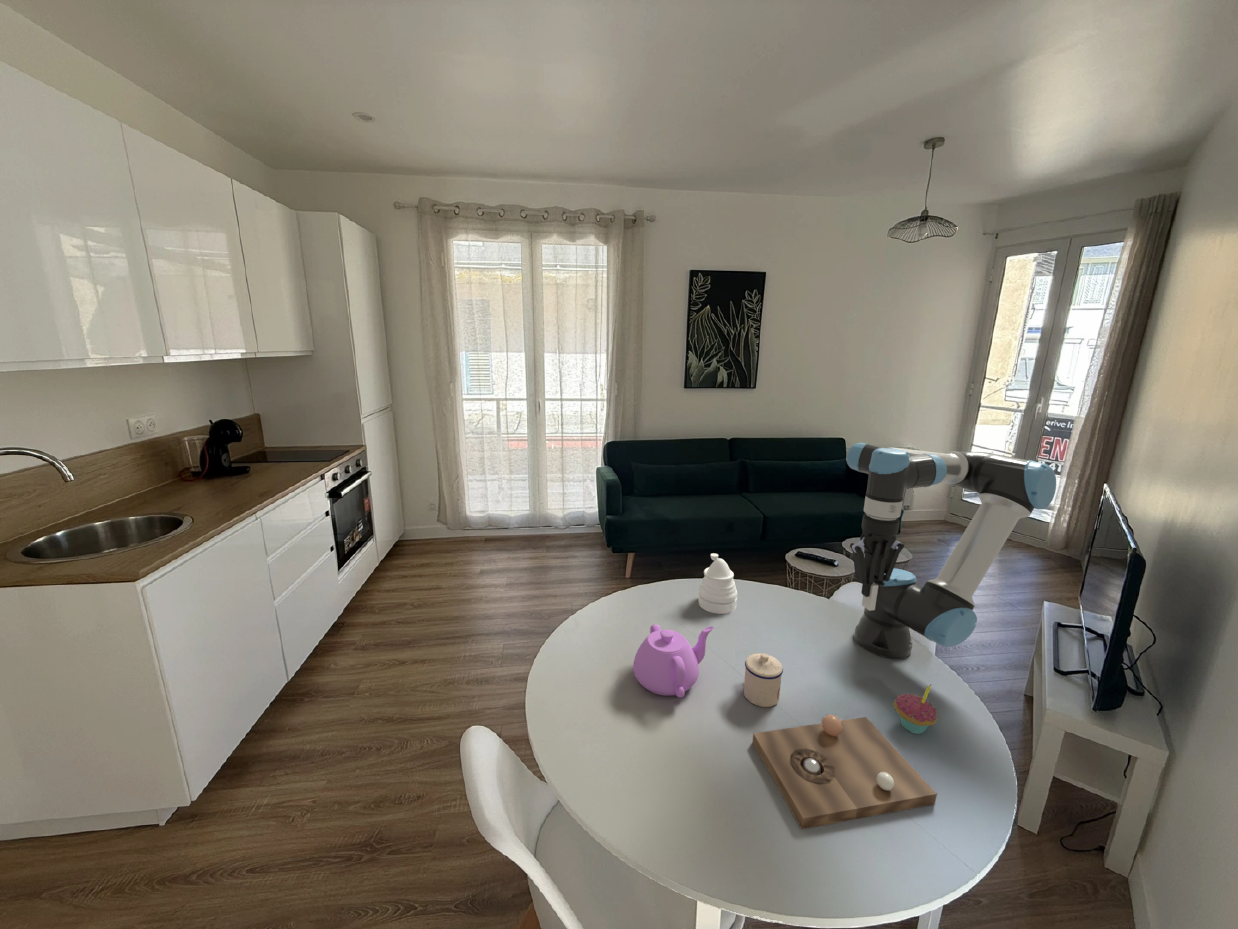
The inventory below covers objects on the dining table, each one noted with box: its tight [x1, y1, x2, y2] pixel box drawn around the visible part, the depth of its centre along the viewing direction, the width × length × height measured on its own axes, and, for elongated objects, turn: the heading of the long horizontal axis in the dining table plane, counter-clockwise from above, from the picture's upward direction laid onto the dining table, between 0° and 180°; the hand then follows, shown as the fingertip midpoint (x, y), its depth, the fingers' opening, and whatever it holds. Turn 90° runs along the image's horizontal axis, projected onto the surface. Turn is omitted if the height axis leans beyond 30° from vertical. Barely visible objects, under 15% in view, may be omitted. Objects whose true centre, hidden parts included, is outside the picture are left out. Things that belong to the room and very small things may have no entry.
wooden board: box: [752, 716, 937, 830], centre depth 99 cm, size 28×20×2 cm
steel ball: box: [802, 758, 821, 776], centre depth 98 cm, size 4×4×4 cm
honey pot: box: [697, 552, 738, 615], centre depth 162 cm, size 13×13×18 cm
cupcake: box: [893, 683, 938, 734], centre depth 110 cm, size 9×8×12 cm
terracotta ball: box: [821, 714, 843, 736], centre depth 105 cm, size 4×4×4 cm
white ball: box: [876, 772, 894, 791], centre depth 92 cm, size 3×3×3 cm
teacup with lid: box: [743, 653, 784, 708], centre depth 121 cm, size 12×9×12 cm
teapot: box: [632, 623, 715, 698], centre depth 125 cm, size 22×22×14 cm
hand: (868, 607), depth 116 cm, fingers closed
